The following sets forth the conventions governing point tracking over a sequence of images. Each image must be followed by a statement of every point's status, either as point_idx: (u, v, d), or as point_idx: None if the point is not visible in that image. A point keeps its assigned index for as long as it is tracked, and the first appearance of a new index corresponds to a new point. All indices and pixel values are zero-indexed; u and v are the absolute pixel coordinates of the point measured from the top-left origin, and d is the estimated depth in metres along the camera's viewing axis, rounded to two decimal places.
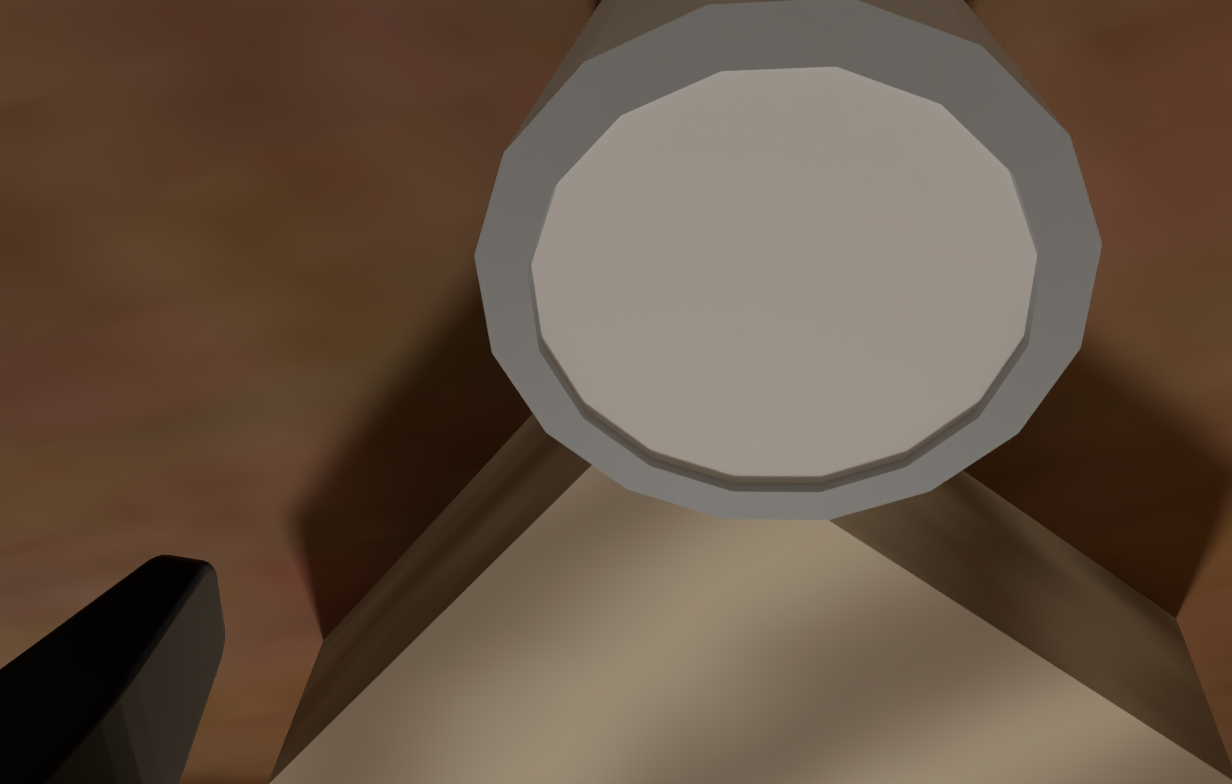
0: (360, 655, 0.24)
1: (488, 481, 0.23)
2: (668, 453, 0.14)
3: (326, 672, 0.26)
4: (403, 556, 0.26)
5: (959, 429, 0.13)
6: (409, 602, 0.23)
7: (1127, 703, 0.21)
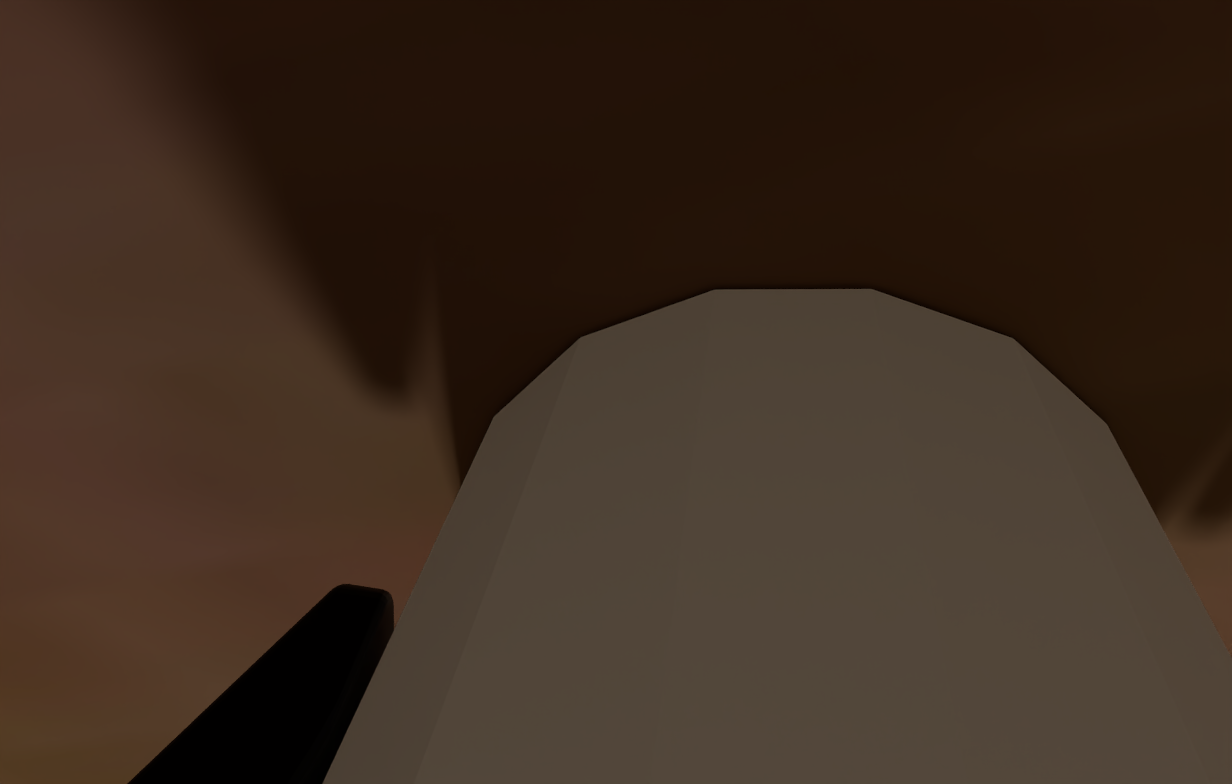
0: None
1: None
2: None
3: None
4: None
5: None
6: None
7: None
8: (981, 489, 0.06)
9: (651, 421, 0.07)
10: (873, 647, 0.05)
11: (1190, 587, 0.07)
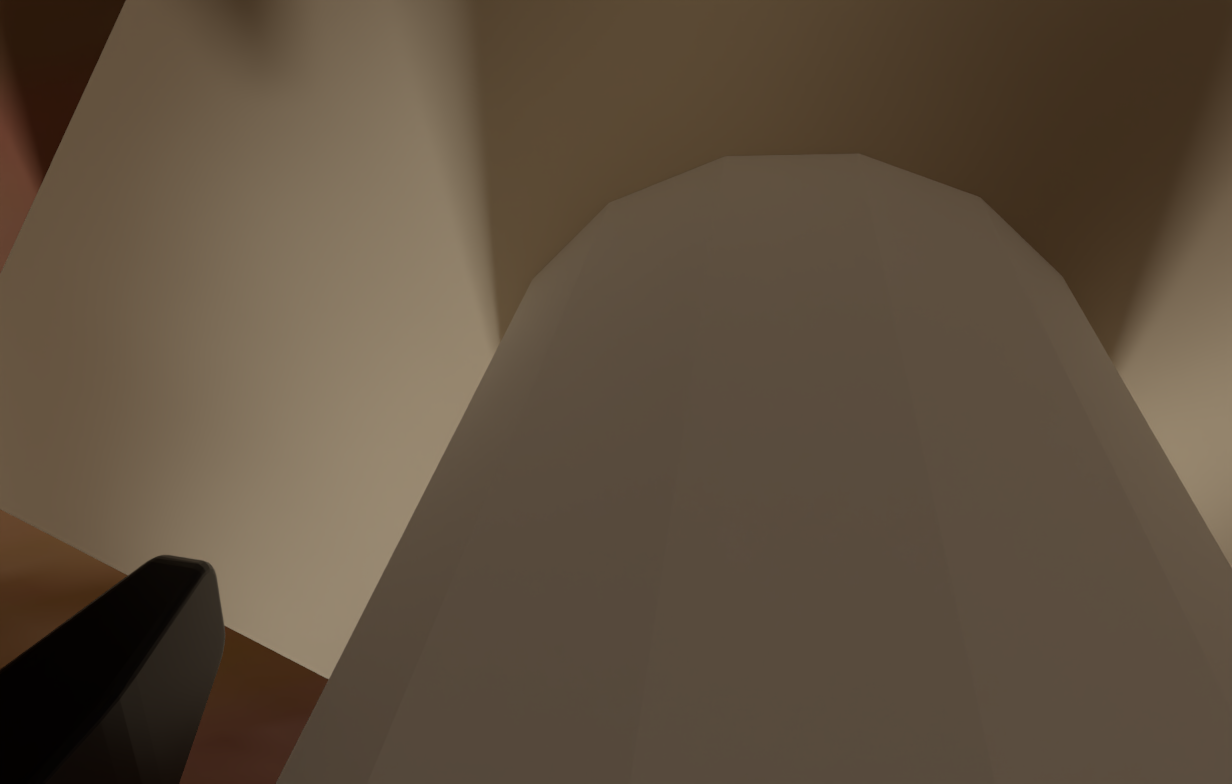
0: None
1: None
2: None
3: None
4: None
5: None
6: None
7: None
8: (945, 287, 0.08)
9: (673, 247, 0.08)
10: (853, 374, 0.06)
11: (1123, 386, 0.08)
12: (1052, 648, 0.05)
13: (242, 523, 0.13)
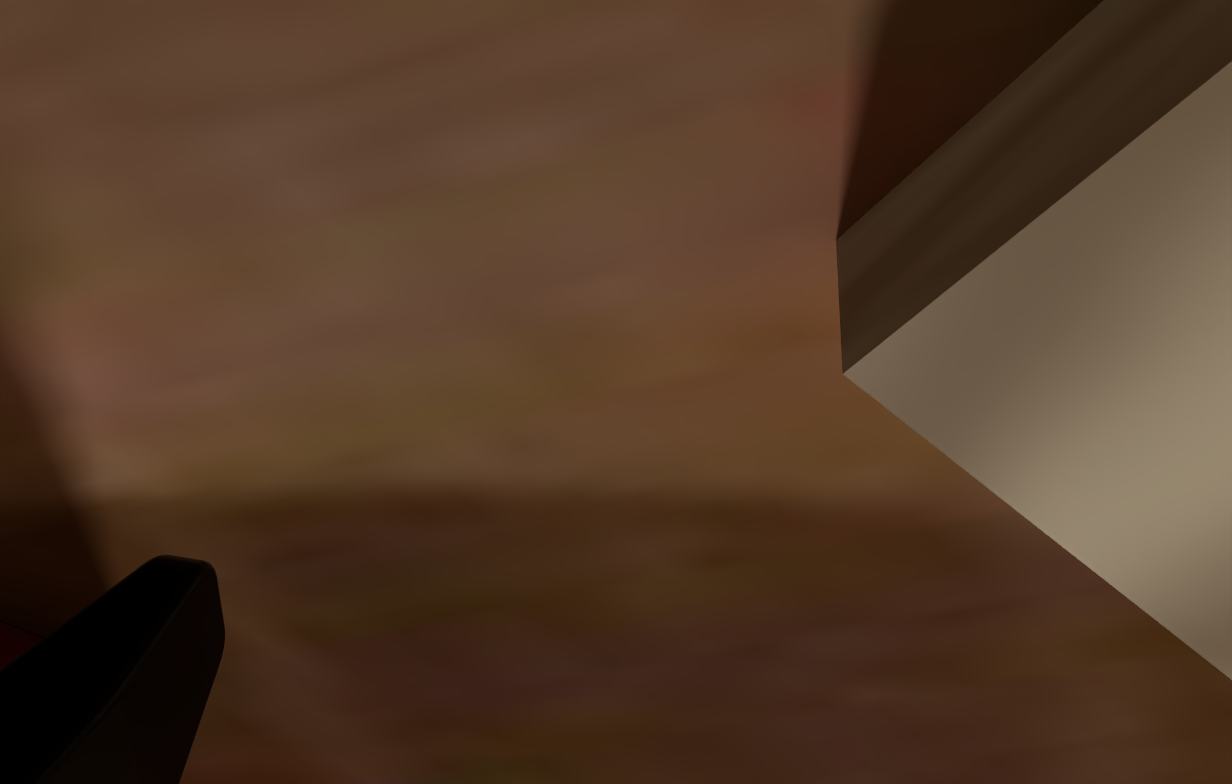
0: (1026, 160, 0.16)
1: None
2: None
3: (904, 233, 0.17)
4: None
5: None
6: (1156, 45, 0.15)
7: None
8: None
9: None
10: None
11: None
12: None
13: (1101, 430, 0.16)
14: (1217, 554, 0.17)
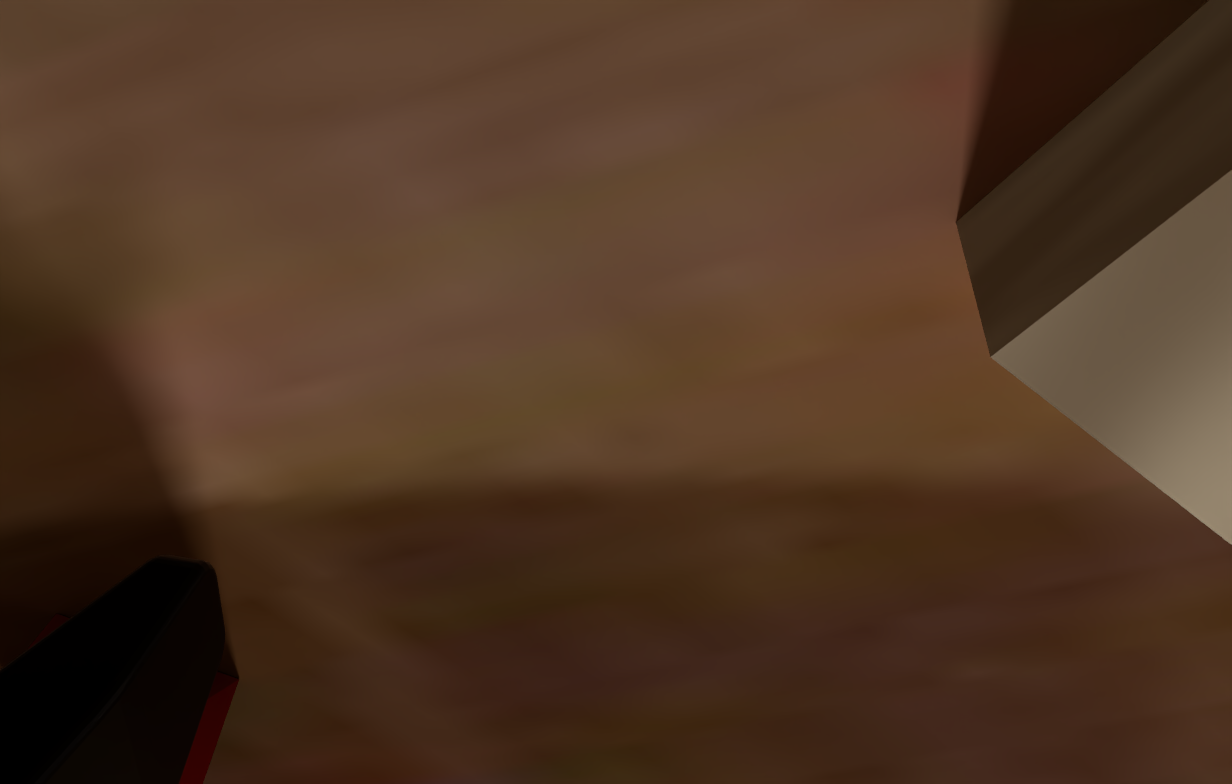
0: (1174, 137, 0.16)
1: None
2: None
3: (1038, 214, 0.17)
4: None
5: None
6: None
7: None
8: None
9: None
10: None
11: None
12: None
13: None
14: None
